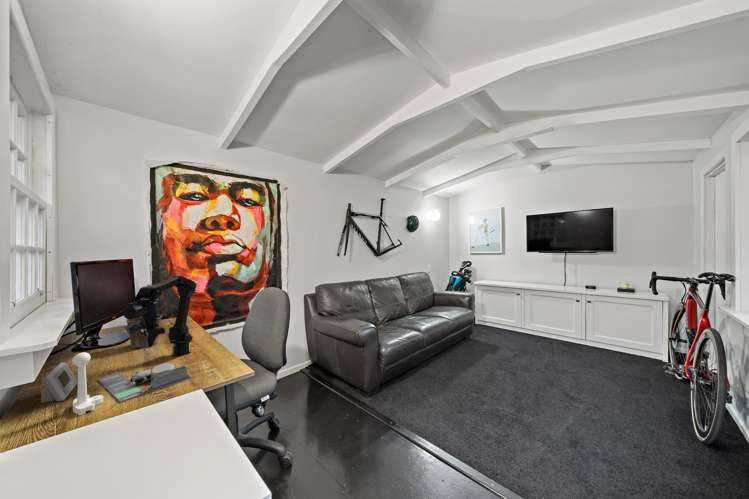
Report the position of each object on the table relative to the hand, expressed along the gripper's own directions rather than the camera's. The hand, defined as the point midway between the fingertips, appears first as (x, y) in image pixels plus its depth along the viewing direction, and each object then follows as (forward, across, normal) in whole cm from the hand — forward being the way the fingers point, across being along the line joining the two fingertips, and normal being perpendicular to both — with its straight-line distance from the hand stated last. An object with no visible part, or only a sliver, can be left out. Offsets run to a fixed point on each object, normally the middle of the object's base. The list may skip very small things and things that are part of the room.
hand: (149, 347), depth 127 cm
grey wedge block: (+11, +21, 0) cm, 24 cm away
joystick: (+12, +16, -23) cm, 30 cm away
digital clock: (+12, -4, -26) cm, 29 cm away
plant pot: (+11, -44, +11) cm, 47 cm away
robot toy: (+12, +10, -2) cm, 16 cm away
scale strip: (+11, +7, -12) cm, 18 cm away
